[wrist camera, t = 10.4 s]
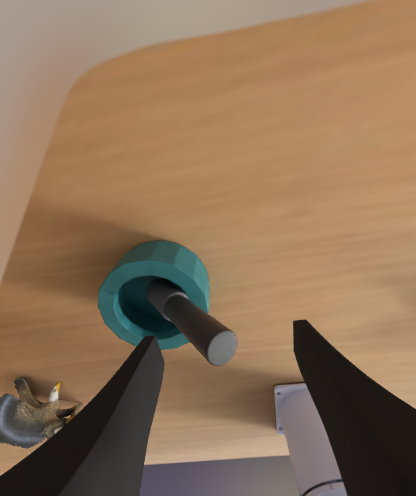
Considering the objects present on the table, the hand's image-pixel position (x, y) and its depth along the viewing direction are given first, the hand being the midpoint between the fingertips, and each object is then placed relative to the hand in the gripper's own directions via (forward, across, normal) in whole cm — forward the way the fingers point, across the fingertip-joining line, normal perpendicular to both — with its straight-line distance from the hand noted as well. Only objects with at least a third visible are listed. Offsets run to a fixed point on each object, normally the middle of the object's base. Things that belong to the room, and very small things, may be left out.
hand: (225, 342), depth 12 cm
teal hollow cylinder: (+10, +6, +2) cm, 12 cm away
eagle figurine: (+11, +24, +16) cm, 31 cm away
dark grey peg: (+9, +6, +2) cm, 11 cm away
